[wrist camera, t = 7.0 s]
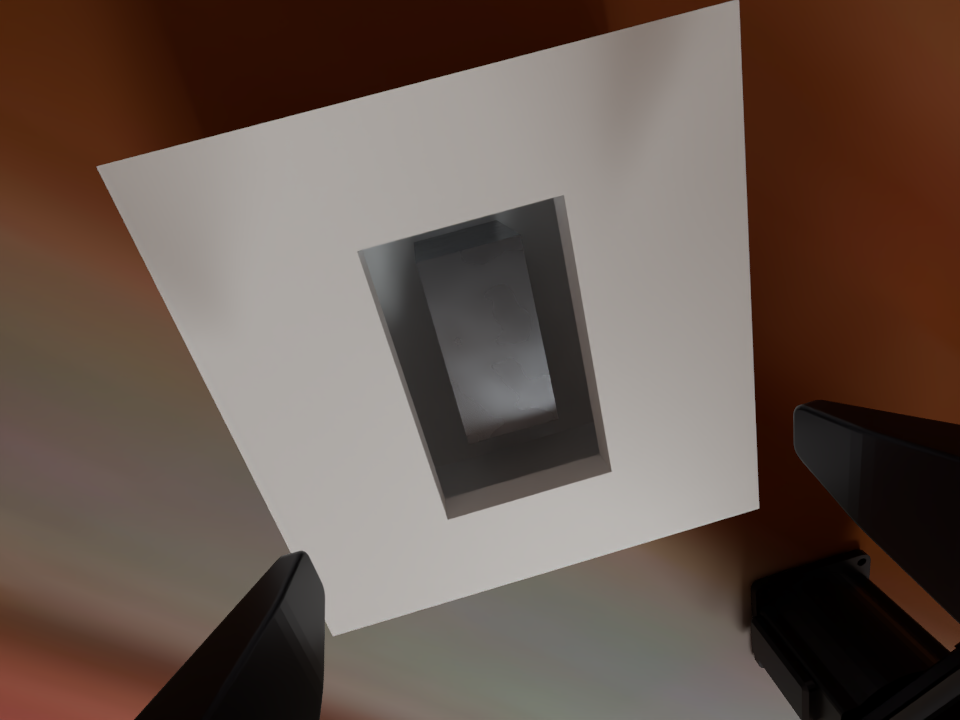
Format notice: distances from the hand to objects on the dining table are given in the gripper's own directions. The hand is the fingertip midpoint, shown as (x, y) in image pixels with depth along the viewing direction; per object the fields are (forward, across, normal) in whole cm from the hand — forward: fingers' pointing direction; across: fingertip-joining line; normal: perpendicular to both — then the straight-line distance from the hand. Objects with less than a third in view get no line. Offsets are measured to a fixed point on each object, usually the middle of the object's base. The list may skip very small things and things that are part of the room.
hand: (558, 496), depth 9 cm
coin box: (+12, 0, 0) cm, 12 cm away
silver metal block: (+11, 0, 0) cm, 11 cm away
